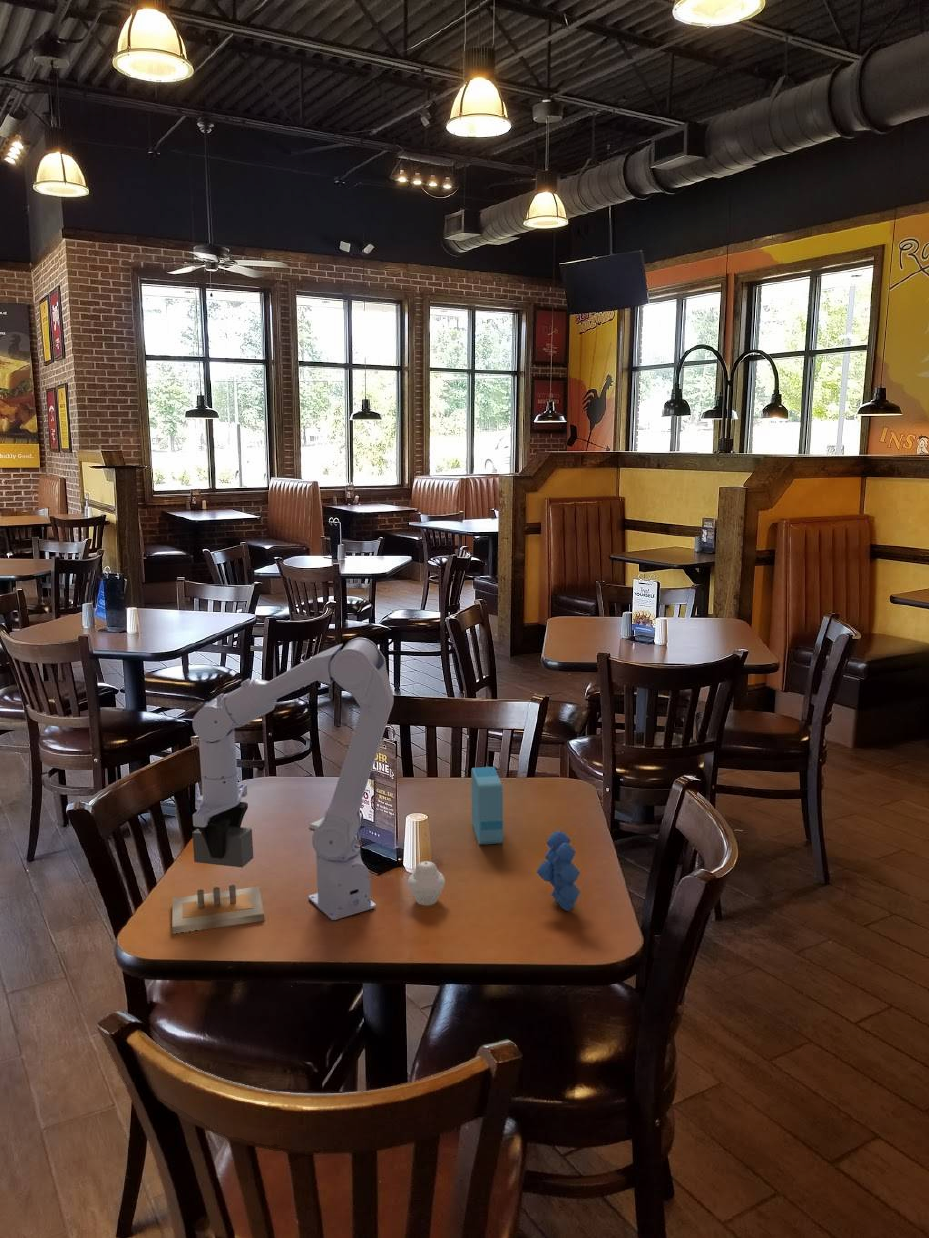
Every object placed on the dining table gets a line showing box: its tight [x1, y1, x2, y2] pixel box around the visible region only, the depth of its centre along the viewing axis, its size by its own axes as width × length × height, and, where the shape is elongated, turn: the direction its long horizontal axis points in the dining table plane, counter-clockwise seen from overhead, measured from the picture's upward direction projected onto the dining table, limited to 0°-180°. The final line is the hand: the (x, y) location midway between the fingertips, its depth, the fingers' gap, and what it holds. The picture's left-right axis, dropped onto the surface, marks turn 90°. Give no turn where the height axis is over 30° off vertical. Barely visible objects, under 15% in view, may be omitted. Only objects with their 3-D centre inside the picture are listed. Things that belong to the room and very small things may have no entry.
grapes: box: [536, 830, 581, 911], centre depth 155 cm, size 12×7×12 cm, turn 11°
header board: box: [171, 884, 265, 935], centre depth 154 cm, size 14×10×4 cm
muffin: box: [407, 860, 446, 907], centre depth 157 cm, size 6×6×7 cm
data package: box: [470, 766, 504, 846], centre depth 183 cm, size 12×4×12 cm, turn 6°
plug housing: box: [192, 826, 254, 869], centre depth 157 cm, size 9×4×5 cm, turn 75°
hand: (224, 851), depth 157 cm, fingers closed on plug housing, 4 cm apart
